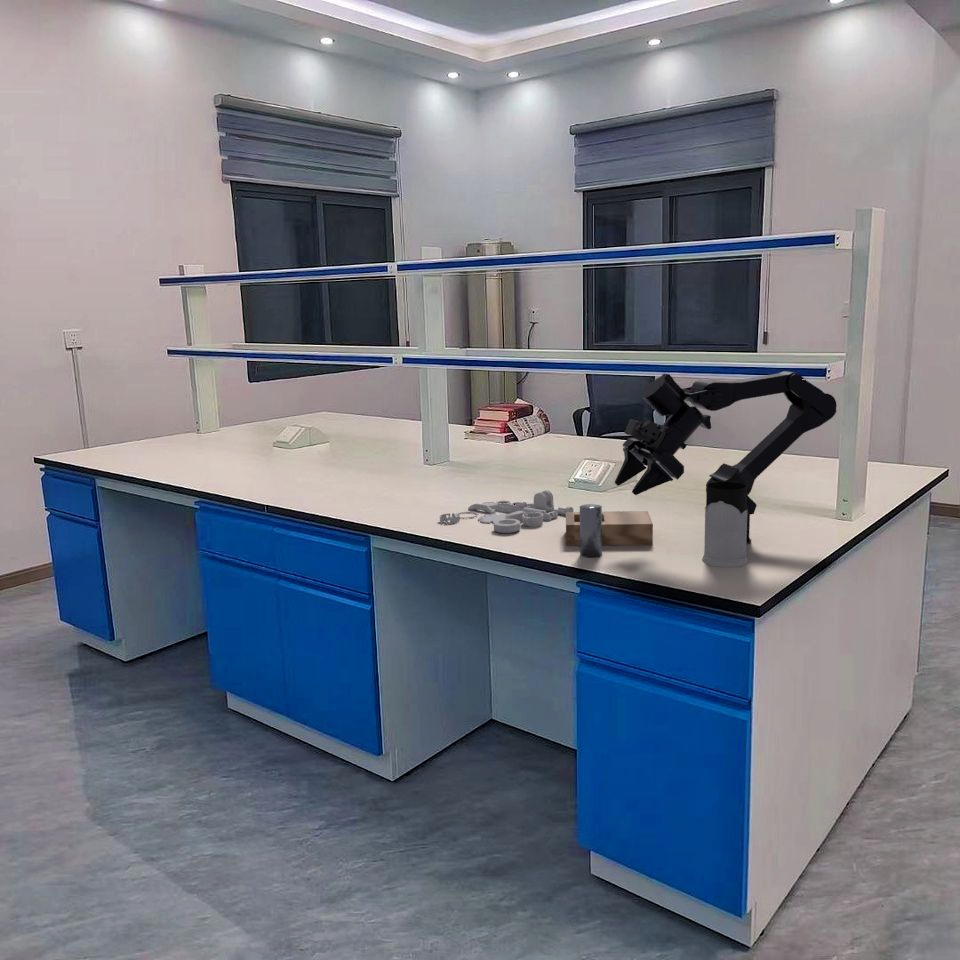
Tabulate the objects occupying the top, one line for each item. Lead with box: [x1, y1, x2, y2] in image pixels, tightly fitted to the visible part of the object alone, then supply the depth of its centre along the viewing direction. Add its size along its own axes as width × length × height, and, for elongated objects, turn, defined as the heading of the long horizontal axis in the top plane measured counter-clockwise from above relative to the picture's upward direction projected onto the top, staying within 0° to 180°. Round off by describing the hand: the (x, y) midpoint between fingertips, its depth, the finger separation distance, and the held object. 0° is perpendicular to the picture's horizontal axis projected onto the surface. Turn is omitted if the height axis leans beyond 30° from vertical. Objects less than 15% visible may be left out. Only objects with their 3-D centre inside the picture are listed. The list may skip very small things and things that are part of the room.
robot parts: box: [439, 489, 574, 534], centre depth 207 cm, size 25×25×5 cm
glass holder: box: [701, 481, 749, 568], centre depth 169 cm, size 9×14×15 cm, turn 149°
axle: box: [579, 503, 603, 559], centre depth 175 cm, size 4×4×10 cm
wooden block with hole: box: [565, 510, 654, 547], centre depth 187 cm, size 18×11×4 cm, turn 85°
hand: (624, 488), depth 175 cm, fingers open, 9 cm apart
